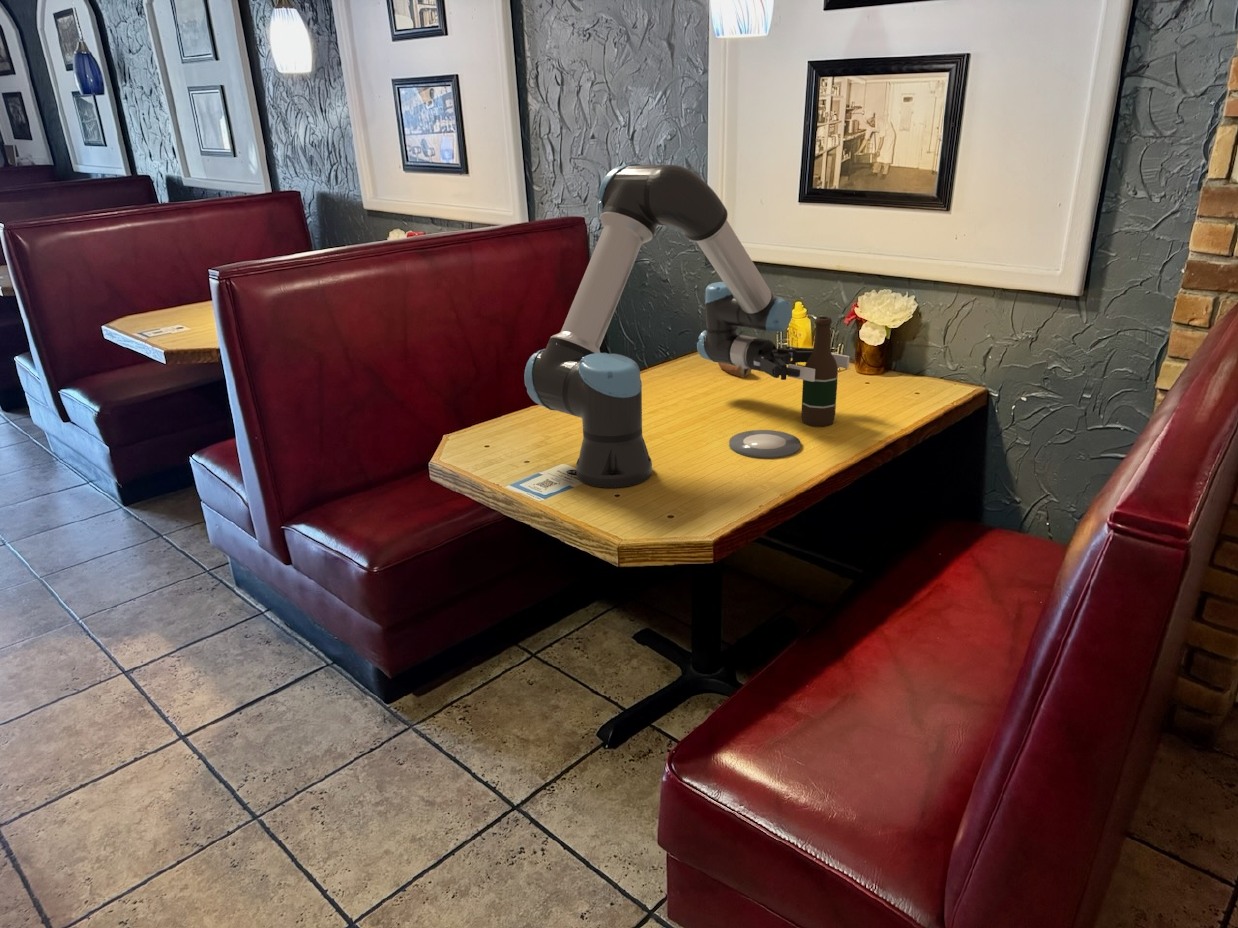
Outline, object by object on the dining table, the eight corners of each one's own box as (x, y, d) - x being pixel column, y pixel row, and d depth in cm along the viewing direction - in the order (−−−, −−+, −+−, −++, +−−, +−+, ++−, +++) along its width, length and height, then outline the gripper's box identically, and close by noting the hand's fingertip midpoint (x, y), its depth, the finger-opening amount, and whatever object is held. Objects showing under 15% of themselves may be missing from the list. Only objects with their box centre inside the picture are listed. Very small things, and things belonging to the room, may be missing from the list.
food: (713, 368, 239) (713, 350, 237) (730, 365, 240) (730, 348, 239) (737, 380, 227) (738, 362, 225) (755, 377, 228) (756, 359, 227)
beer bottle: (841, 420, 193) (848, 316, 184) (824, 429, 188) (830, 323, 179) (811, 414, 198) (817, 312, 189) (793, 422, 193) (798, 318, 184)
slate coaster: (772, 463, 170) (772, 459, 170) (714, 446, 181) (714, 442, 180) (814, 443, 180) (814, 439, 180) (757, 428, 190) (758, 424, 190)
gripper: (784, 358, 210) (860, 373, 196) (720, 380, 194) (797, 398, 180) (785, 328, 207) (862, 341, 193) (720, 348, 191) (799, 364, 177)
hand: (831, 368), depth 186 cm, fingers open, 13 cm apart
